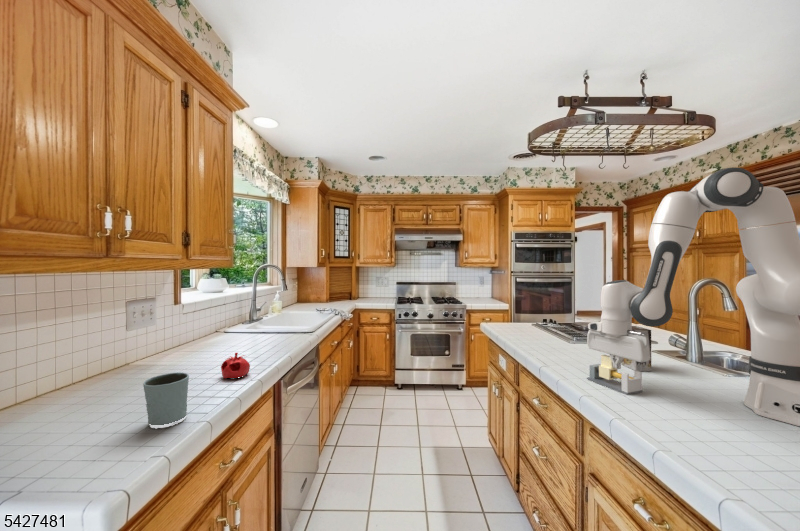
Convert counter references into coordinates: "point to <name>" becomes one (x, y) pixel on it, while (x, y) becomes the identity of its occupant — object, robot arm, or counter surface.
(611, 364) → the notched stepped block
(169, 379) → the grey plant pot
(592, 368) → the linear slide clamp
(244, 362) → the pomegranate
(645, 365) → the coffee box
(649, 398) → the counter surface
